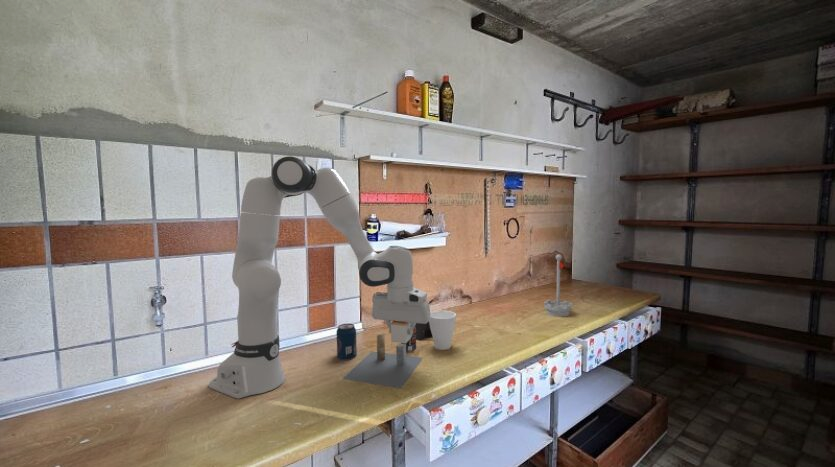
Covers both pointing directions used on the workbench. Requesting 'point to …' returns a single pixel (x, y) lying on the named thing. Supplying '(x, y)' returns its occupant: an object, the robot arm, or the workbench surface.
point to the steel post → (401, 354)
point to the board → (383, 370)
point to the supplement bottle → (411, 341)
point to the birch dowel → (380, 346)
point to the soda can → (346, 342)
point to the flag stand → (558, 298)
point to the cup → (442, 328)
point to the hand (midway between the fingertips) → (401, 333)
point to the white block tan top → (400, 331)
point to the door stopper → (423, 331)
